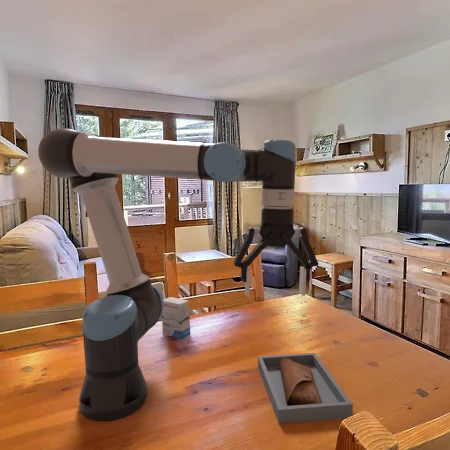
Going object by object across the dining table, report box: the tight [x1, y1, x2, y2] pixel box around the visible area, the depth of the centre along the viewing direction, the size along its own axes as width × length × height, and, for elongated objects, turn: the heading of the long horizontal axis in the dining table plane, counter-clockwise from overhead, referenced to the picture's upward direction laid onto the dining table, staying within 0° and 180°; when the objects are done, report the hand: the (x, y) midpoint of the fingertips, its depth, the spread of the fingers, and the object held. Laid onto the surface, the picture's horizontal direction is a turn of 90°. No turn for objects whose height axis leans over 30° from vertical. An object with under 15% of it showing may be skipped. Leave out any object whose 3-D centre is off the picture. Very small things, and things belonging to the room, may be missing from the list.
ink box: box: [161, 296, 191, 340], centre depth 118 cm, size 9×5×12 cm, turn 58°
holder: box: [257, 352, 354, 424], centre depth 86 cm, size 16×23×3 cm
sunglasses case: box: [279, 357, 322, 406], centre depth 86 cm, size 18×7×7 cm
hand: (274, 294), depth 87 cm, fingers open, 13 cm apart
